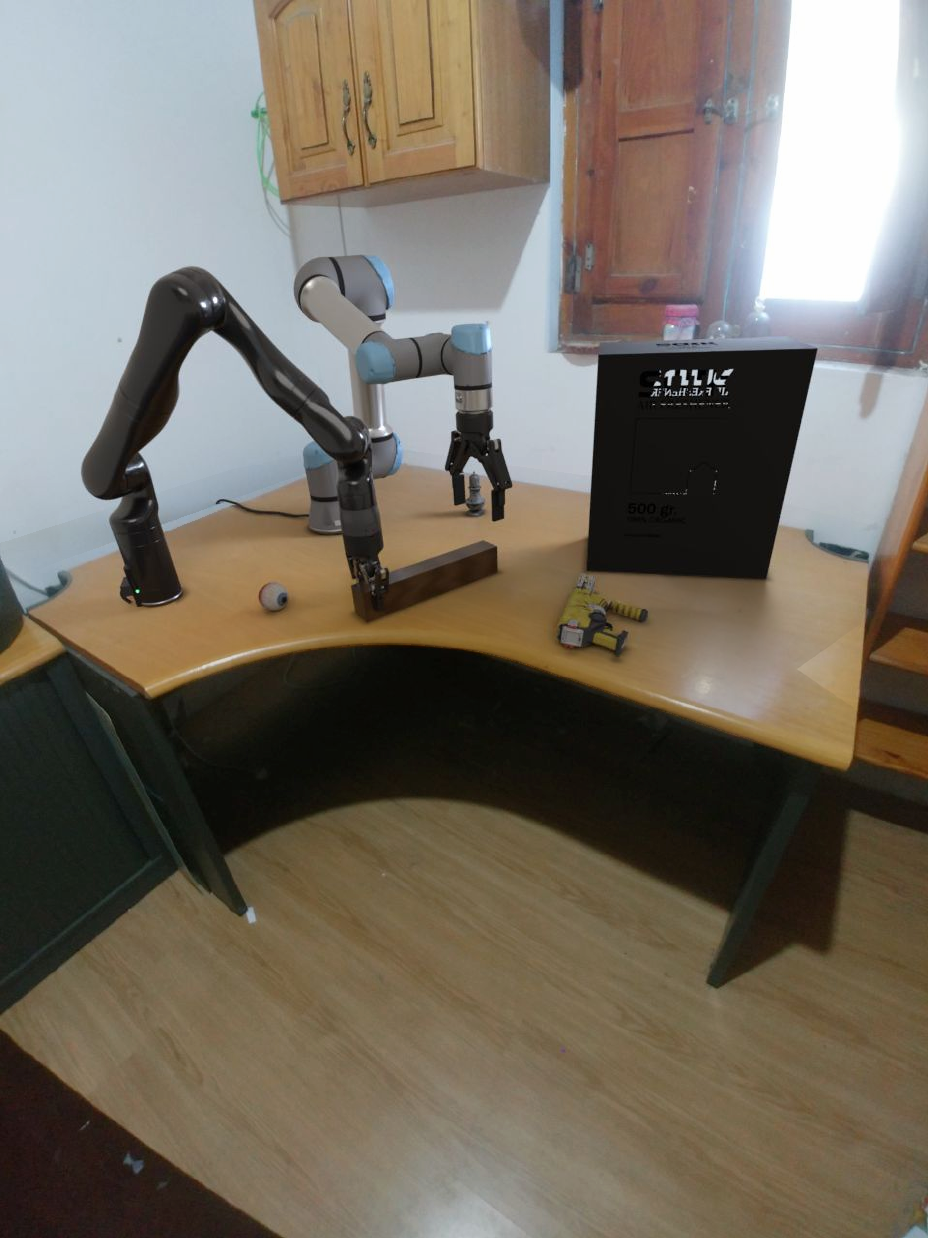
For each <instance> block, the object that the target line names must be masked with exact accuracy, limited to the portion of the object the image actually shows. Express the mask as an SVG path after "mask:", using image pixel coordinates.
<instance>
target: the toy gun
mask: <svg viewBox="0 0 928 1238" xmlns="http://www.w3.org/2000/svg"><path fill="white" fill-rule="evenodd" d="M586 580H588V581H586ZM596 580H597V578H596V577H595V575H589V577H587V574H585V573H582V574H580V576H579V578H578V581H577V584H576V585H575V587H573V588H572V592H571V594H570V596H569V599H568V601H567V602H566V605H565V608H564V610H563V612H562V614H561V616H560V619H559V622H558V623H557V626H556V635H555V640H556V641H557V642H558V643H561V644H563V646H564V647H565V648H568V647H569V648H570V649H574V647H577V648H585V647H589V646H591V645H593V644H596V645H599V646H602V647H605V648H607V649H610V650H613V651H614V652H615V656H616V657H620V656H621V655H622V653H623V652H624V649H625V648H626V644H627V640H628V636H629V631H626V630H625V629H623V630H621V632H620V633H618V632H615V631H613V630H614V627H613V624H612V623H611V622H608V618H607V614H608V613H609V612H611V613H613V614H614V613H616V614H618V615H623V616H624V617H629V618H630V619H635V620H637V621H639V622H641V623H643V622H646V621H647V619H648V616H649V610H648V609H647V608H643V607H637V606H636V605H631V604H629V603H625V602H621V601H620V602H619V601H617V600H615V599H613V600H611V601H610V602H609V603H608V601H607V600H606V598H605V597H604V596H603V595H599V594H597V593H596V594H595V593H594V591H595V588H596V587H595V586H596Z"/></svg>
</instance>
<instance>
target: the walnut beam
mask: <svg viewBox="0 0 928 1238" xmlns="http://www.w3.org/2000/svg"><path fill="white" fill-rule="evenodd" d="M498 561H499V560H498V546H497V545H495V544H493V543H491V542H489V541H486V540H484V539H483V540H480V541H479V540H478V541H477V542H476V541H475V542H474V543H471V544H468V545H465V546H461V547H459V548H456V549H453V550H450V551H448V552H445V553H440V554H438V555H436V556H433V557H430V558H426V559H424V560H421V561H418V562H416V563H413V564H410V565H407V566H403V567H400V568H397V569H394V570H392V571H389V593H387V594H384V595H383V597H384V605H385V609H384V610H381V611H379V612H376V611H374V608H373V601H372V594H371V591H370V587H369V585H366V582H365V581H362V582H359V583H356V582H355V583H354V584H351V585H350V589H351V595H352V602H353V607H354V614H356V615H357V616H358V617H359V618H361V619H362V620H363V621H364V622H366V623H369V622H371V621H374V620H377V619H379V618H382V617H385V616H388V615H390V614H394V613H395V612H398V611H400V610H404V609H406V608H408V607H411V606H414V605H416V604H419V603H422V602H424V601H428V600H430V599H432V598H435V597H437V596H440V595H443V594H445V593H448V592H450V591H453V590H456V589H458V588H461V587H463V586H467V585H469V584H472V583H475V582H477V581H479V580H483V579H484V578H488V577H489V576H493V575H495V574H498V572H499V564H498ZM369 579H370V580H373V579H375V577H372V578H369ZM374 588H375V584H374Z"/></svg>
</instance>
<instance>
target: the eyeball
mask: <svg viewBox="0 0 928 1238" xmlns="http://www.w3.org/2000/svg"><path fill="white" fill-rule="evenodd" d="M289 596H290V595H289V592H288V590H287V588H286V587H285V586H284V585H283V584H281V583H279V582H276V581H273V582H267V583H266V584H265V583H264V584H263V586H261V588H260V589H259V592H258V601H259V604H260V605H261V606H262V608H264V609H265V610H268V611H270V612H277V611H280V610H282V609H284V608H285V607H286V605H287V604H288V601H289Z"/></svg>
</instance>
